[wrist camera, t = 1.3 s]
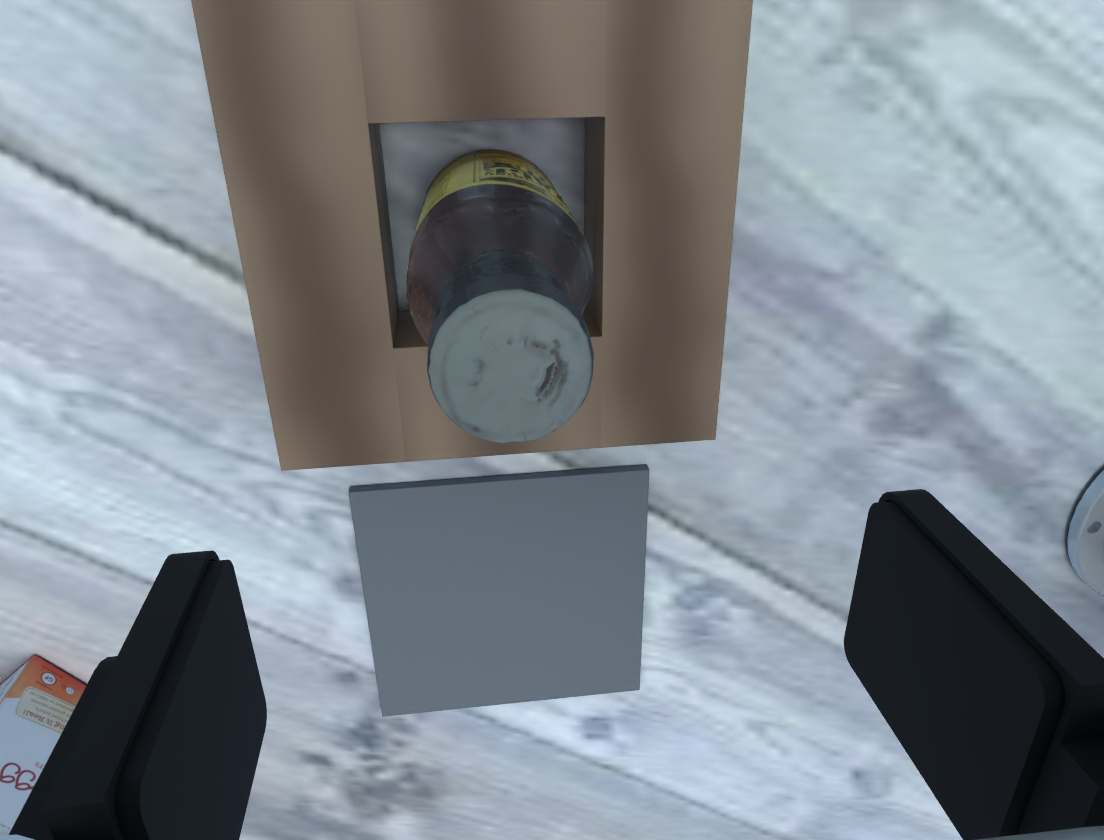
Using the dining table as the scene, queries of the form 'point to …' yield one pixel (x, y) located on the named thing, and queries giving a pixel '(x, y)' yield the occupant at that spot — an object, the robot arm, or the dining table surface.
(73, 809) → the robot arm
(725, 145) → the holder block
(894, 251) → the dining table surface
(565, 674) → the rubber mat
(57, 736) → the cracker box
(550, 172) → the dining table surface
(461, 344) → the sauce bottle
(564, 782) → the dining table surface
